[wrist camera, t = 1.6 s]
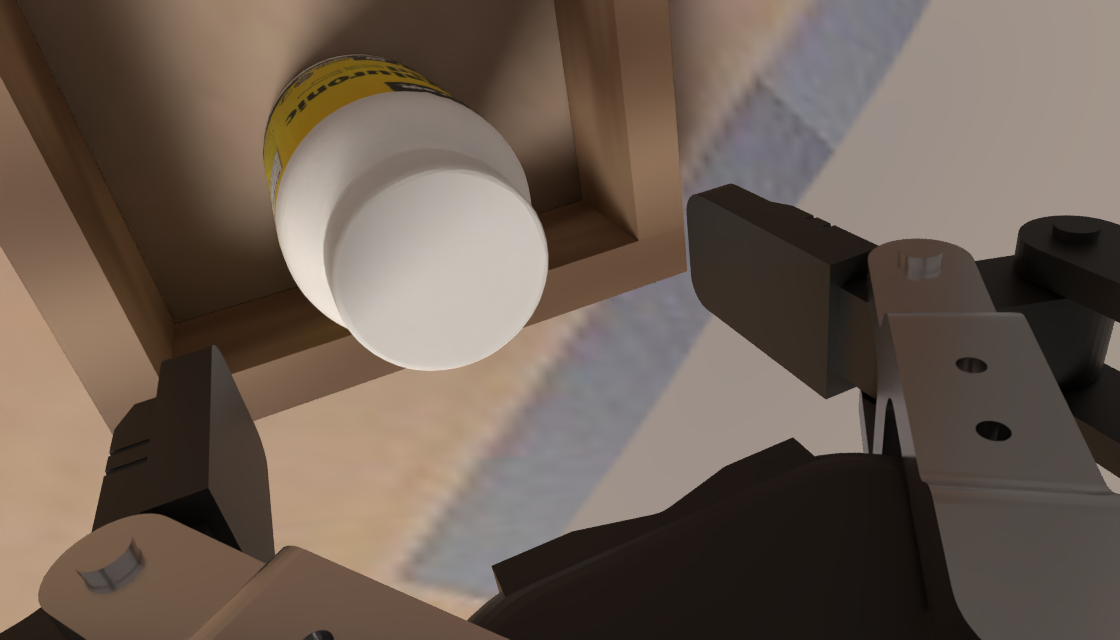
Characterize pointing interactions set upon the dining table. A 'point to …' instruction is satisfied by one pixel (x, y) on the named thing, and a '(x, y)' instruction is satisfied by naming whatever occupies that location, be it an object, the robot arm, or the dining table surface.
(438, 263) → the supplement bottle
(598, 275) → the walnut cubby
